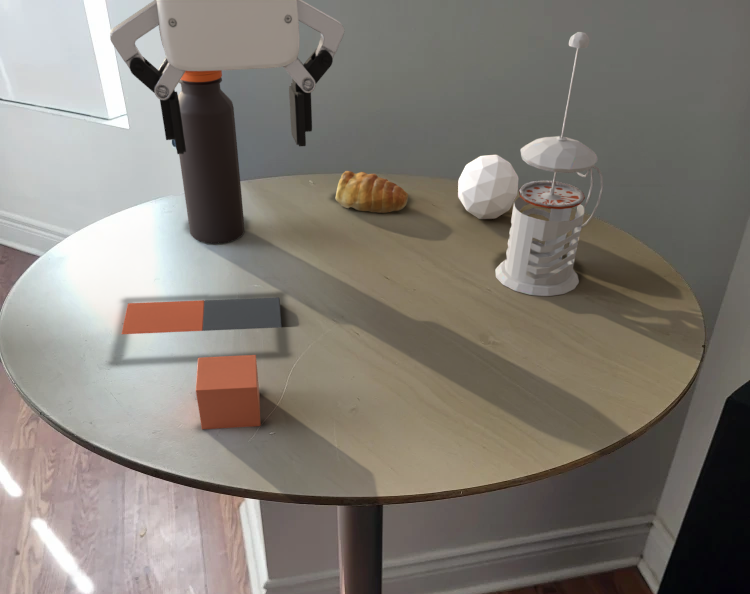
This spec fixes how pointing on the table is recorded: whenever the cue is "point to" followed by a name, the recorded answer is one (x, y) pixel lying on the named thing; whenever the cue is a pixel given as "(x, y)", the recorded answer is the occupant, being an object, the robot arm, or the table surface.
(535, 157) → the french press
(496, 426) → the table surface
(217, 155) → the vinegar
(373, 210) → the pastry
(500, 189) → the geometric ball
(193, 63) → the robot arm
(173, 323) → the mat
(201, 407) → the terracotta block
